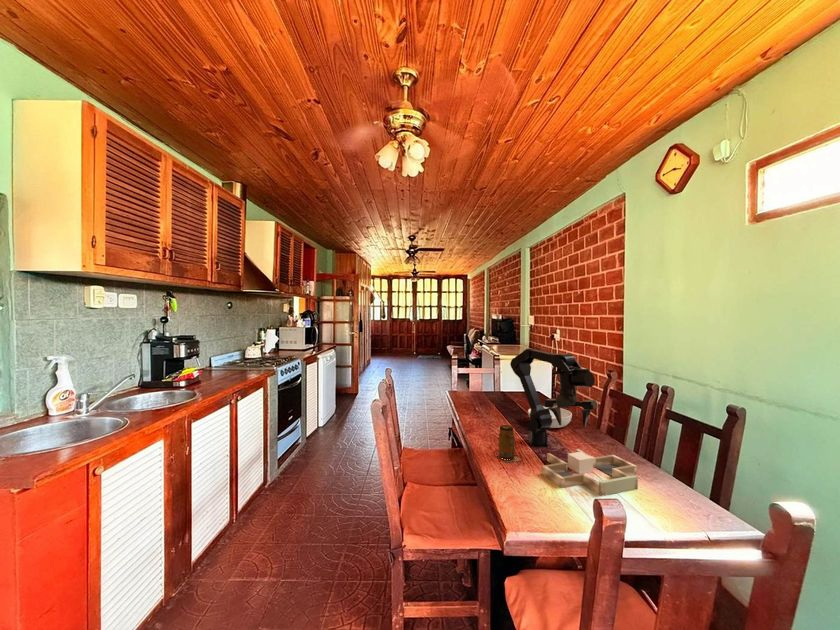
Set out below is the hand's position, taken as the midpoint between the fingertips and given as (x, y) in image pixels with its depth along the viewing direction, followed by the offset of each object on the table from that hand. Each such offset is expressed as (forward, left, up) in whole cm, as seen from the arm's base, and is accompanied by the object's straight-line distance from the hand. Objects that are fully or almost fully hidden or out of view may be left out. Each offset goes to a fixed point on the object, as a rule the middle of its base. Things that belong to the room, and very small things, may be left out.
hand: (572, 426), depth 140 cm
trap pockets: (0, -13, -13) cm, 19 cm away
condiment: (-25, +3, -13) cm, 28 cm away
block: (-1, -9, -13) cm, 16 cm away
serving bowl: (+7, +41, -13) cm, 43 cm away
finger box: (0, -13, -13) cm, 19 cm away
